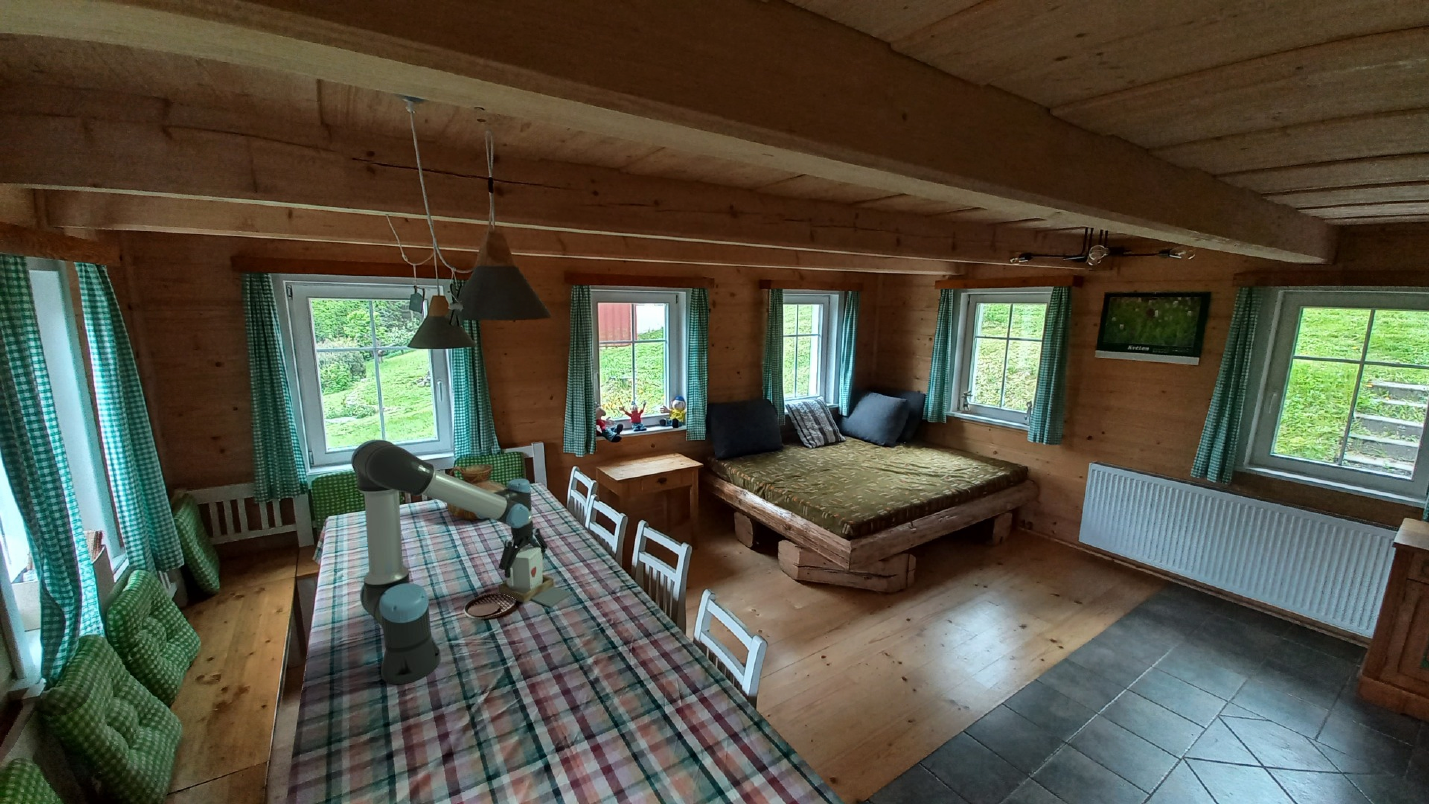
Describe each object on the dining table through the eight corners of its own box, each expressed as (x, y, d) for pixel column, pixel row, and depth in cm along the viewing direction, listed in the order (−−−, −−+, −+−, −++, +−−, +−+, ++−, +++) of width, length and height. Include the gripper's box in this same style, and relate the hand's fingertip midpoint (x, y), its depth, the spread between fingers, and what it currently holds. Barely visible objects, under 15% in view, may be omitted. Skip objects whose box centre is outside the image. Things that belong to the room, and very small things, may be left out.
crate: (524, 603, 189) (523, 595, 189) (498, 593, 196) (498, 585, 195) (553, 586, 201) (553, 578, 200) (528, 576, 208) (528, 569, 207)
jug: (502, 498, 290) (498, 453, 286) (523, 514, 267) (519, 466, 263) (442, 512, 272) (437, 464, 267) (458, 531, 249) (453, 479, 244)
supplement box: (531, 597, 193) (528, 558, 190) (508, 594, 195) (505, 556, 192) (544, 584, 202) (541, 547, 199) (522, 582, 204) (519, 545, 201)
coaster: (550, 607, 186) (550, 606, 186) (531, 599, 191) (530, 598, 191) (572, 594, 195) (572, 593, 195) (552, 587, 200) (552, 585, 200)
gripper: (499, 536, 181) (503, 595, 185) (555, 512, 202) (558, 564, 206) (484, 532, 185) (489, 589, 189) (541, 508, 206) (544, 560, 210)
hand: (525, 576), depth 197 cm, fingers open, 13 cm apart
